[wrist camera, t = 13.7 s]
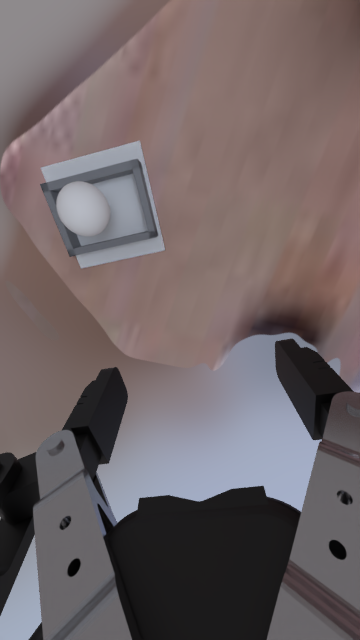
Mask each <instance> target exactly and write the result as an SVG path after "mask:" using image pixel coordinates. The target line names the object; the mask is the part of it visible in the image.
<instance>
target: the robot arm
mask: <svg viewBox="0 0 360 640" xmlns="http://www.w3.org/2000/svg"><path fill="white" fill-rule="evenodd" d="M275 358H276V371H277V375H278V378H279V380H280V382H281V384H282V386H283V387H284V389H285V391H286V393H287V394H288V396H289V398H290V400H291V401H292V403H293V405H294V407H295V409H296V411H297V412H298V414H299V416H300V418H301V419H302V421H303V423H304V425H305V427H306V428H307V430H308V432H309V434H310V436H311V437H312V439H313V440H319V439H322V442H320V443H319V446H318V449H317V453H316V458H315V461H314V465H313V469H312V473H311V477H310V481H309V485H308V488H307V493H306V496H305V500H304V504H303V508H302V512H300V511H299V510H297V509H296V508H294V507H292V506H291V505H289V504H287V503H284V502H282V501H280V500H277V499H274V498H270V497H266V493H265V490H264V486H258V487H248V488H238V489H231V490H228V491H226V492H223V493H221V494H218V495H216V496H214V497H212V498H209V499H207V500H204V501H200V502H197V501H193V500H188V499H183V498H179V497H174V496H170V495H166V496H157V497H146V498H140V499H139V504H138V510H136V511H134V512H132V513H131V514H129V515H127V516H126V517H124V518H123V519H122V520H120V521H119V522H118V523H117V521H116V519H115V517H114V515H113V513H112V510H111V507H110V505H109V502H108V500H107V497H106V495H105V492H104V490H103V487H102V484H101V482H100V479H99V477H98V474H97V472H96V471H97V468H98V465H99V464H107V463H109V461H110V457H111V454H112V451H113V447H114V444H115V441H116V437H117V434H118V430H119V427H120V424H121V420H122V417H123V414H124V411H125V407H126V404H127V399H128V394H127V390H126V387H125V384H124V382H123V379H122V377H121V374H120V372H119V370H118V368H117V367H114V368H108V369H102V370H101V371H100V373H99V375H98V376H97V378H96V380H95V381H92V382H91V383H90V384H89V385H88V386H87V387H86V388H85V389H84V391H83V393H82V395H81V398H80V399H79V400H78V402H77V405H76V406H75V407H74V409H73V411H72V413H71V414H70V417H69V418H68V420H67V422H66V424H65V425H64V427H63V429H62V431H58V432H56V433H54V434H52V435H51V436H50V437H48V438H47V439H46V440H45V441H44V442H43V443H42V444H41V446H40V447H39V448H38V450H37V452H35V453H33V454H30V455H28V456H26V457H23V458H21V459H18V460H17V458H16V457H15V456H14V455H13V454H12V453H3V454H0V517H1V520H0V615H1V613H2V611H3V608H4V606H5V603H6V601H7V599H8V596H9V594H10V592H11V589H12V587H13V584H14V582H15V579H16V577H17V575H18V572H19V570H20V567H21V565H22V563H23V561H24V558H25V556H26V554H27V551H28V548H29V546H30V544H31V542H32V539H33V537H34V534H35V542H36V555H37V567H38V578H39V592H40V604H41V616H42V622H41V624H40V625H39V626H38V628H37V629H36V630H35V632H34V633H33V635H32V636H31V637H30V639H29V640H360V393H357V392H354V391H353V390H352V389H351V388H350V387H349V386H348V385H347V384H346V383H345V382H344V381H343V380H342V379H341V378H340V376H339V375H338V374H337V373H336V372H335V371H334V370H333V369H332V368H330V366H329V365H328V364H327V362H325V361H324V359H323V358H322V357H321V356H320V355H319V354H318V353H317V352H315V351H313V350H311V349H309V348H307V347H304V348H300V347H299V345H298V344H297V343H296V342H295V340H294V339H287V340H281V341H276V342H275Z"/></svg>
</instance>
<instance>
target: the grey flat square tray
mask: <svg viewBox="0 0 360 640" xmlns="http://www.w3.org/2000/svg"><path fill="white" fill-rule="evenodd" d="M41 170H42V172H43V175H44V177H45V180H46V182H47V183H43V184H40V186H41V188H42V190H43V193H44V195H45V198H46V200H47V203H48V205H49V207H50V210H51V212H52V215H53V217H54V219H55V222H56V224H57V227H58V229H59V232H60V234H61V236H62V239H63V241H64V244H65V246H66V249H67V251H68V253H69V256H70V257H71V256H76V257H77V260H78V262H79V265H80V267H81V268H86V267H91V266H95V265H100V264H104V263H109V262H114V261H118V260H123V259H127V258H132V257H136V256H141V255H146V254H150V253H155V252H159V251H164V250H165V247H164V242H163V238H162V234H161V229H160V225H159V221H158V217H157V212H156V208H155V204H154V199H153V195H152V191H151V186H150V182H149V178H148V173H147V169H146V165H145V160H144V156H143V152H142V148H141V143H140V141H136V142H133V143H129V144H125V145H122V146H118V147H114V148H111V149H107V150H103V151H100V152H96V153H92V154H89V155H85V156H81V157H78V158H74V159H71V160H67V161H63V162H60V163H56V164H52V165H49V166H45V167H41ZM76 181H82V182H86V183H90V184H92V185H93V186H95V187H96V188H98V189H99V190H100V191H101V192H102V193H103V195H104V196H105V198H106V199H107V202H108V204H109V206H110V208H111V214H110V219H109V222H108V224H107V226H106V228H105V229H104V230H103V231H102V232H101V233H99V234H97V235H94V236H81V235H78V234H76V233H74V232H72V231H71V230H69V229H68V228H67V227H66V226H65V225H64V224H63V223H62V221H61V219H60V218H59V215H58V212H57V207H56V201H57V196H58V194H59V192H60V191H61V189H62V188H63V187H64V186H65V185H67V184H69V183H71V182H76Z"/></svg>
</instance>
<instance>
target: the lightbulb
mask: <svg viewBox="0 0 360 640" xmlns="http://www.w3.org/2000/svg"><path fill="white" fill-rule="evenodd" d="M56 207H57V212H58V215H59V218H60V219H61V221H62V223H63V224H64V225H65V226H66V227H67V228H68V229H69V230H71V231H72V232H74V233H76V234H78V235H81V236H94V235H97V234H99V233H101V232H102V231H103V230H104V229H105V228H106V226H107V224H108V222H109V219H110V214H111V208H110V206H109V204H108V202H107V199H106V198H105V196H104V195H103V193H102V192H101V191H100V190H99V189H98V188H96V187H95V186H93V185H92V184H90V183H86V182H82V181H76V182H71V183H69V184H67V185H65V186H64V187H63V188H62V189H61V191H60V192H59V194H58V196H57V201H56Z"/></svg>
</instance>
